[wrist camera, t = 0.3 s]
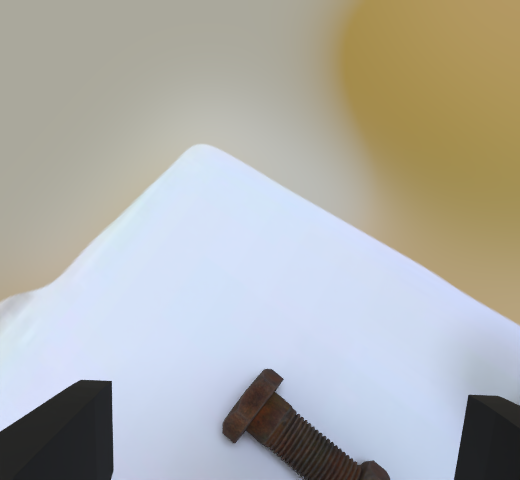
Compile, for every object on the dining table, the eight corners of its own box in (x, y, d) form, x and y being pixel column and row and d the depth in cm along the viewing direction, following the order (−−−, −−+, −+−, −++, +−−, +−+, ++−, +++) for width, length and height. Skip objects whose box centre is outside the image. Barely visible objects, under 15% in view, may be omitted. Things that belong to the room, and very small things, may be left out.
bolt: (392, 548, 35) (235, 411, 38) (434, 496, 34) (271, 362, 38) (396, 602, 29) (211, 435, 32) (446, 539, 28) (254, 378, 32)
